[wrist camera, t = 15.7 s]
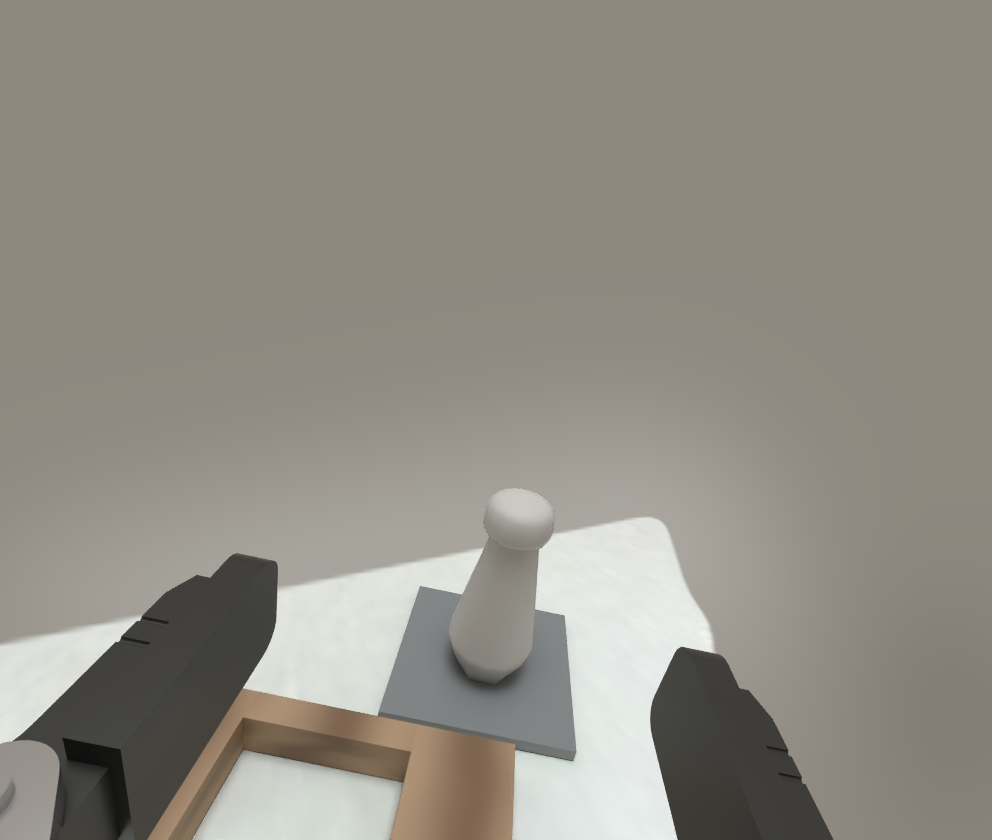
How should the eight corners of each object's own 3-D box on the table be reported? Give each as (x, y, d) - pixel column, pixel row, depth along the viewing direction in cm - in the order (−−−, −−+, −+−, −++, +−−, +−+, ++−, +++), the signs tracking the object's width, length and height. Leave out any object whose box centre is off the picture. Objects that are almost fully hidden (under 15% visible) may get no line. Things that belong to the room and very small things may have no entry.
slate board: (377, 720, 28) (378, 711, 28) (418, 593, 39) (420, 586, 38) (573, 760, 28) (576, 751, 28) (562, 623, 39) (564, 615, 38)
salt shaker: (435, 631, 34) (464, 475, 30) (507, 621, 37) (544, 475, 32) (457, 704, 29) (495, 531, 25) (538, 687, 32) (588, 525, 27)
